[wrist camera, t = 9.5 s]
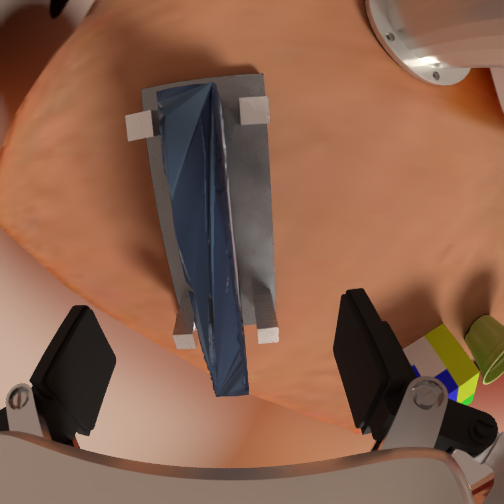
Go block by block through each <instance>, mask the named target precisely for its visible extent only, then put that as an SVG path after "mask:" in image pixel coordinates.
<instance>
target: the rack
mask: <svg viewBox="0 0 504 504" xmlns="http://www.w3.org/2000/svg"><path fill="white" fill-rule="evenodd" d="M211 82H214V83H215V84H216V85H217V89H218V91H219V94H220V96H221V99H222V104H223V120H224V130H225V141H226V152H227V162H228V171H229V183H230V193H231V204H232V215H233V224H234V235H235V245H236V254H237V264H238V275H239V285H240V295H241V306H242V315H243V322H244V323H243V325H251V324H256V327H257V335H258V343H259V344H264V343H273V342H279V331H278V323H277V318H276V305H275V274H274V248H273V225H272V204H271V184H270V166H269V149H268V133H267V123H270V115H269V100H268V96H265V90H264V76H263V74H244V75H231V76H220V77H211V78H202V79H195V80H188V81H182V82H176V83H170V84H165V85H159V86H154V87H150V88H145V89H141V94H142V105H143V112H139V113H134V114H130V115H126V116H125V119H126V128H127V136H128V141H133V140H138V139H143V138H146V141H147V149H148V156H149V163H150V170H151V176H152V182H153V189H154V194H155V200H156V206H157V211H158V217H159V222H160V227H161V232H162V237H163V242H164V246H165V251H166V255H167V260H168V264H169V269H170V273H171V277H172V281H173V285H174V289H175V293H176V297H177V301H178V305H179V309H178V313H177V317H176V322H175V326H174V331H173V338H174V341H175V344H176V347H177V349H196V347H197V338H198V332H197V329H196V327H195V323H194V312H193V309H192V305H191V301H190V297H189V292H188V290H189V291H192V292H194V291H193V290H192V289H191V287H190V286H189V285H188V284H187V283H186V281H185V277H184V273H183V269H182V264H181V260H180V256H179V251H178V246H177V241H176V236H175V231H174V223H173V214H172V205H171V199H170V194H169V187H168V183H167V180H166V176H165V173H164V168H163V159H162V148H161V138H162V137H161V133H160V130H159V116H158V104H157V95H156V92H157V91H161V90H165V89H169V88H173V87H179V86H186V85H192V84H205V83H211Z"/></svg>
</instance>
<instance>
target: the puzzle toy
mask: <svg viewBox="0 0 504 504" xmlns="http://www.w3.org/2000/svg"><path fill="white" fill-rule="evenodd" d="M403 351H404V353H405V355H406V357H407V359H408V361H409V362H410V364H411V366H412V368H413V370H414V372H415V374H416V376H417V378H418V377H422V376H429V377H434V378H436V379H438V380H439V381H441V382H442V383H443V384H444V386H445V387H446V389H447V392H448V398H449V399H451V400H454V401H456V402H459V403H462V404H464V405H468V404H469V403H471V402H472V400H473V396H474V393H475V389H476V385H477V381H478V376H479V370H478V369H477V367H476V366H475V364H474V363H473V362H472V360H471V359H470V358H469V356H468V355H467V353H466V352H465V351H464V349H463V348H462V347H461V345H460V344H459V343H458V341H457V340H456V339H455V338H454V336H453V335H452V334H451V332H450V331H449V330H448V329H447V327H446V326H445V325H444V324H443V323H442V324H441V325H439V326H438V327H437V328H435V329H434V330H432V331H431V332H429V333H428V334H426V335H424V336H423V337H421V338H420V339H418V340H417V341H415V342H413V343H412V344H410V345H409V346H407V347H405V348H404V349H403Z"/></svg>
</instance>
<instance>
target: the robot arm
mask: <svg viewBox="0 0 504 504" xmlns="http://www.w3.org/2000/svg"><path fill="white" fill-rule="evenodd" d="M365 6H366V12H367V16H368V19H369V22H370V25H371V27H372V29H373V31H374V33H375V35H376V37H377V39H378V40H379V41H380V43H381V44H382V46H383V47H384V49H385V50H386V51H387V53H388V54H389V55H390V56H391V57H392V58H393V60H394V61H395V62H397V63H398V64H399V65H400V66H401V67H402V68H403V69H404V70H406V71H407V72H408V73H410V74H411V75H412V76H414V77H416V78H418V79H420V80H422V81H424V82H427V83H430V84H433V85H452V84H455V83H458V82H460V81H461V80H463V79H464V78H465V77H466V75H467V74H468V73H469V71H470V69H471V68H483V67H499V68H501V67H502V68H503V67H504V0H365ZM333 352H334V357H335V360H336V363H337V366H338V369H339V373H340V376H341V379H342V382H343V386H344V389H345V392H346V396H347V399H348V402H349V406H350V409H351V413H352V416H353V420H354V423H355V426H356V428H357V429H358V428H361V431H362V434H363V435H364V434H368V433H372V436H373V439H375V442H374V444H373V446H372V448H371V450H370V452H367V453H362V454H357V455H351V456H346V457H341V458H336V459H331V460H324V461H318V462H310V463H303V464H295V465H286V466H275V467H261V468H231V469H230V468H221V469H220V468H193V467H180V466H179V467H178V466H169V465H160V464H152V463H145V462H138V461H132V460H127V459H121V458H116V457H111V456H107V455H102V454H98V453H94V452H90V451H86V450H83V449H80V447H79V444H78V442H77V440H76V437H75V433H76V432H77V433H79V434H82V435H86V436H89V434H90V431H91V430H93V429H94V427H95V423H96V420H97V417H98V414H99V411H100V408H101V405H102V401H103V398H104V396H105V393H106V389H107V387H108V384H109V381H110V378H111V375H112V372H113V370H114V367H115V364H116V357H115V354H114V353H113V350H112V349H111V347H110V345H109V343H108V341H107V339H106V337H105V335H104V333H103V331H102V329H101V327H100V325H99V323H98V321H97V319H96V317H95V315H94V312H93V311H92V310H91V309H90V308H89V307H88V306H86V305H75V306H73V307H72V309H71V310H70V312H69V313H68V315H67V316H66V318H65V319H64V321H63V323H62V324H61V326H60V327H59V329H58V331H57V332H56V334H55V336H54V337H53V339H52V341H51V342H50V344H49V346H48V347H47V349H46V351H45V353H44V354H43V356H42V358H41V360H40V362H39V363H38V365H37V367H36V369H35V371H34V373H33V375H32V376H31V378H30V382H31V383H32V385H33V386H32V388H31V387H30V386H29V385H27V384H18V385H16V386H14V387H13V388H12V389H11V390H10V391H9V393H8V395H7V398H6V407H5V408H3V409H1V410H0V504H504V432H502V433H501V434H500V433H499V432H498V427H497V423H496V422H495V419H494V418H493V417H492V416H491V415H489V414H487V413H486V412H483V411H480V410H477V409H474V408H472V407H469V406H467V405H464V404H462V403H459V402H456V401H454V400H451V399H449V398H448V392H447V389H446V387H445V386H444V384H443V383H442V382H441V381H439V380H438V379H436V378H434V377H429V376H422V377H418V378H417V376H416V374H415V372H414V370H413V368H412V366H411V364H410V362H409V361H408V359H407V357H406V355H405V353H404V351H403V349H402V347H401V345H400V343H399V342H398V340H397V338H396V336H395V334H394V333H393V331H392V329H391V327H390V325H389V324H388V323H387V322H386V321H382V320H381V319H380V317H379V315H378V313H377V311H376V310H375V308H374V306H373V304H372V303H371V301H370V299H369V297H368V296H367V294H366V292H365V290H364V289H363V288H358V289H350V290H347V291H346V294H343V295H342V296H341V301H340V308H339V315H338V321H337V327H336V333H335V339H334V345H333ZM469 485H470V487H471V489H470V487H469Z"/></svg>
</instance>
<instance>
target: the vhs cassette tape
mask: <svg viewBox="0 0 504 504" xmlns="http://www.w3.org/2000/svg"><path fill="white" fill-rule="evenodd" d="M156 95H157V104H158V116H159V130H160V133H161V137H162V138H161V148H162V159H163V168H164V173H165V176H166V180H167V183H168V187H169V194H170V199H171V205H172V214H173V223H174V231H175V236H176V241H177V246H178V251H179V256H180V260H181V264H182V269H183V273H184V277H185V281H186V283H187V284H188V285H189V286H190V287H191V289H192V290H193V291H194V292H192V291H189V290H188V292H189V297H190V301H191V305H192V309H193V312H194V323H195V327H196V329H197V332H198V336H199V340H200V344H201V348H202V351H203V353H204V359H205V361H206V363H207V368H208V370H209V371H210V375H211V379H212V381H213V390H214V391H215V394H216V397H220V396H241V395H248V394H249V383H248V371H247V359H246V347H245V336H244V326H243V323H244V322H243V315H242V306H241V295H240V285H239V275H238V264H237V254H236V245H235V235H234V224H233V215H232V204H231V193H230V183H229V171H228V162H227V152H226V141H225V130H224V120H223V104H222V99H221V96H220V94H219V91H218V89H217V85H216V84H215V83H214V82H211V83H205V84H192V85H186V86H179V87H173V88H169V89H165V90H161V91H157V92H156Z"/></svg>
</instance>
